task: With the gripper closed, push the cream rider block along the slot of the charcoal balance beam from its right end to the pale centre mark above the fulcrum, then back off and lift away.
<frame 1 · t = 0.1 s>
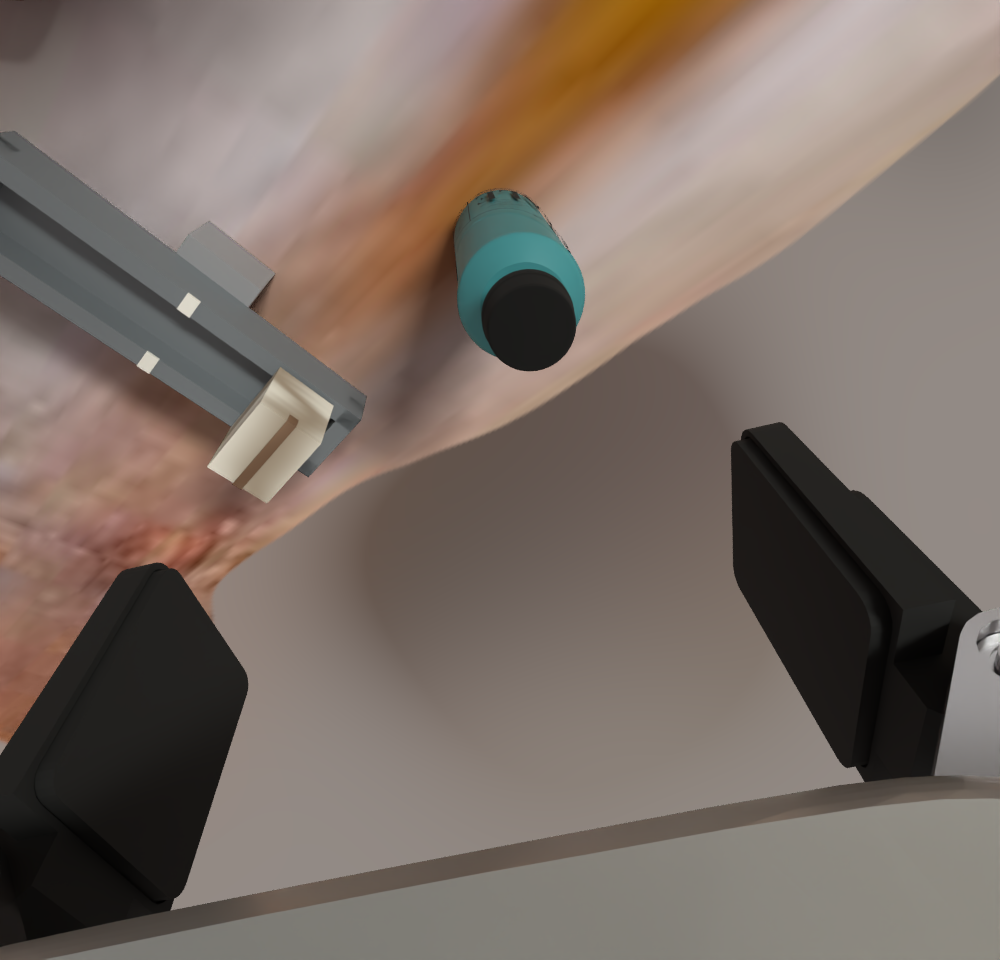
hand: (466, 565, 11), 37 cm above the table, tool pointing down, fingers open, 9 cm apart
beam: (207, 296, 44), on the table
beverage bottle: (498, 232, 43), on the table
rider: (277, 427, 40), point 9 cm above the table, slide at 8.0 cm
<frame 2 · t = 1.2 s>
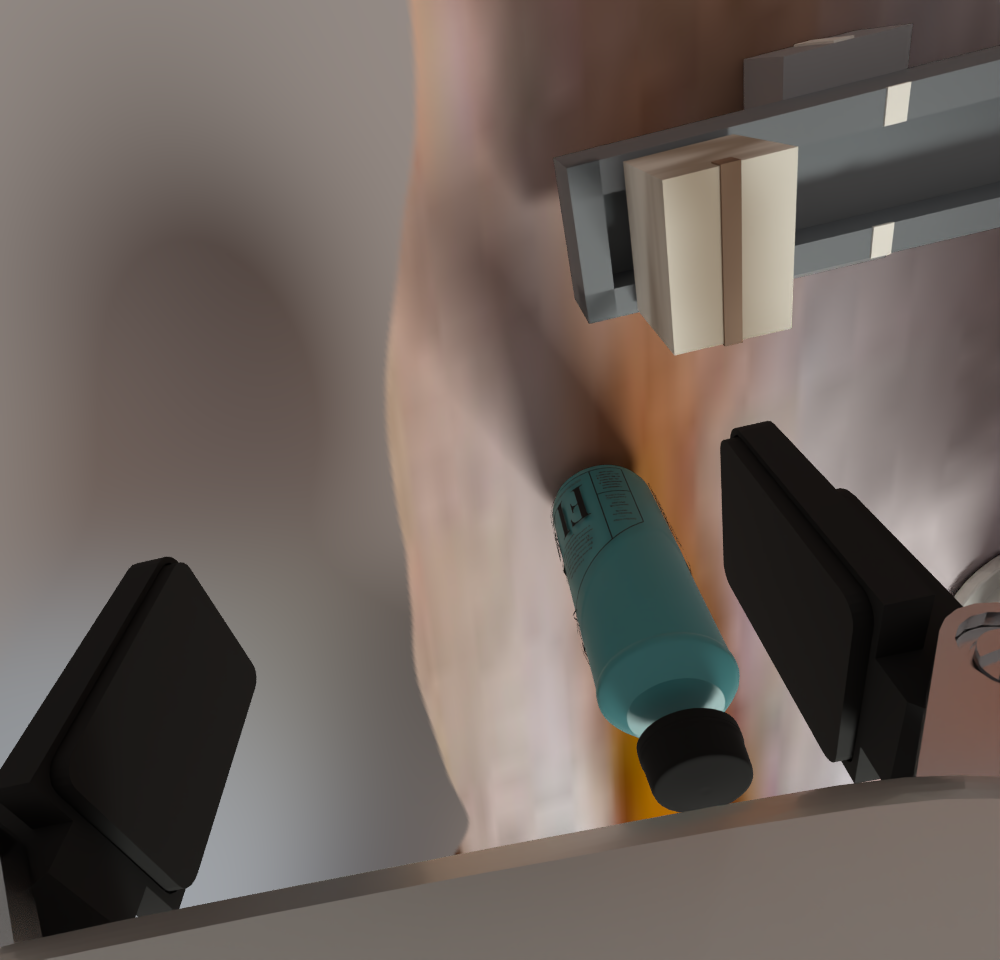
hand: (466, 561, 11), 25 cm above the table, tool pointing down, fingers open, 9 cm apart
beam: (795, 155, 30), on the table
beverage bottle: (596, 491, 40), on the table
rider: (695, 236, 23), point 9 cm above the table, slide at 8.0 cm
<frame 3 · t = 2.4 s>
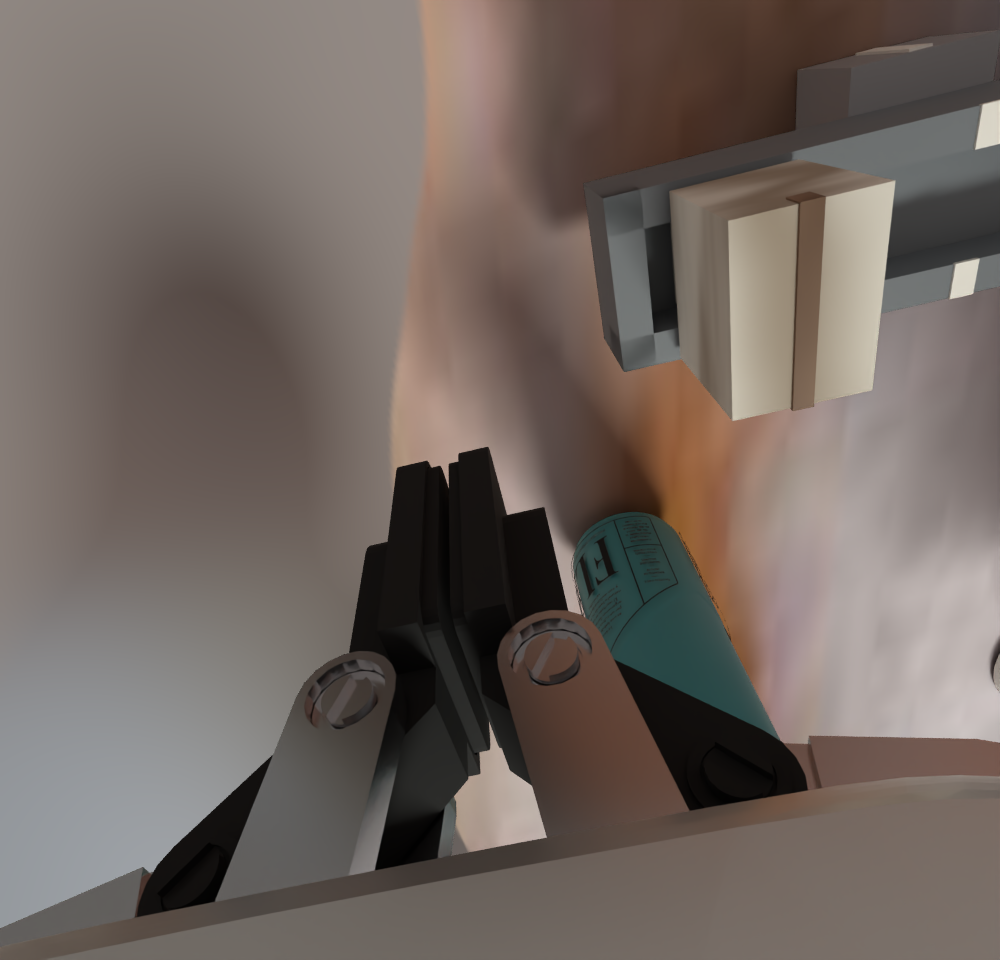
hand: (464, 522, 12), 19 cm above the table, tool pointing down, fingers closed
beam: (852, 177, 27), on the table
beverage bottle: (620, 536, 37), on the table
rider: (753, 278, 20), point 9 cm above the table, slide at 8.0 cm
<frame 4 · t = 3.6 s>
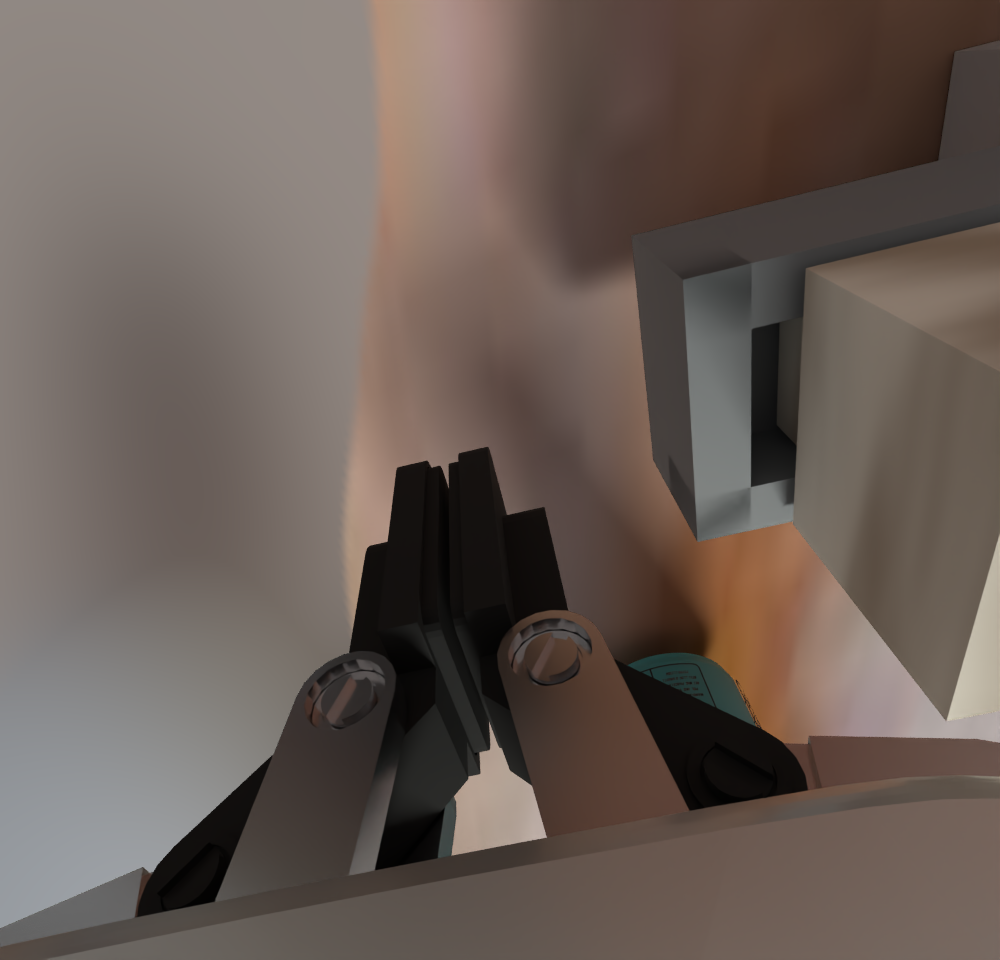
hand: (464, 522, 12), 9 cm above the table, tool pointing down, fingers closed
beverage bottle: (652, 669, 28), on the table
rider: (957, 426, 11), point 9 cm above the table, slide at 8.0 cm
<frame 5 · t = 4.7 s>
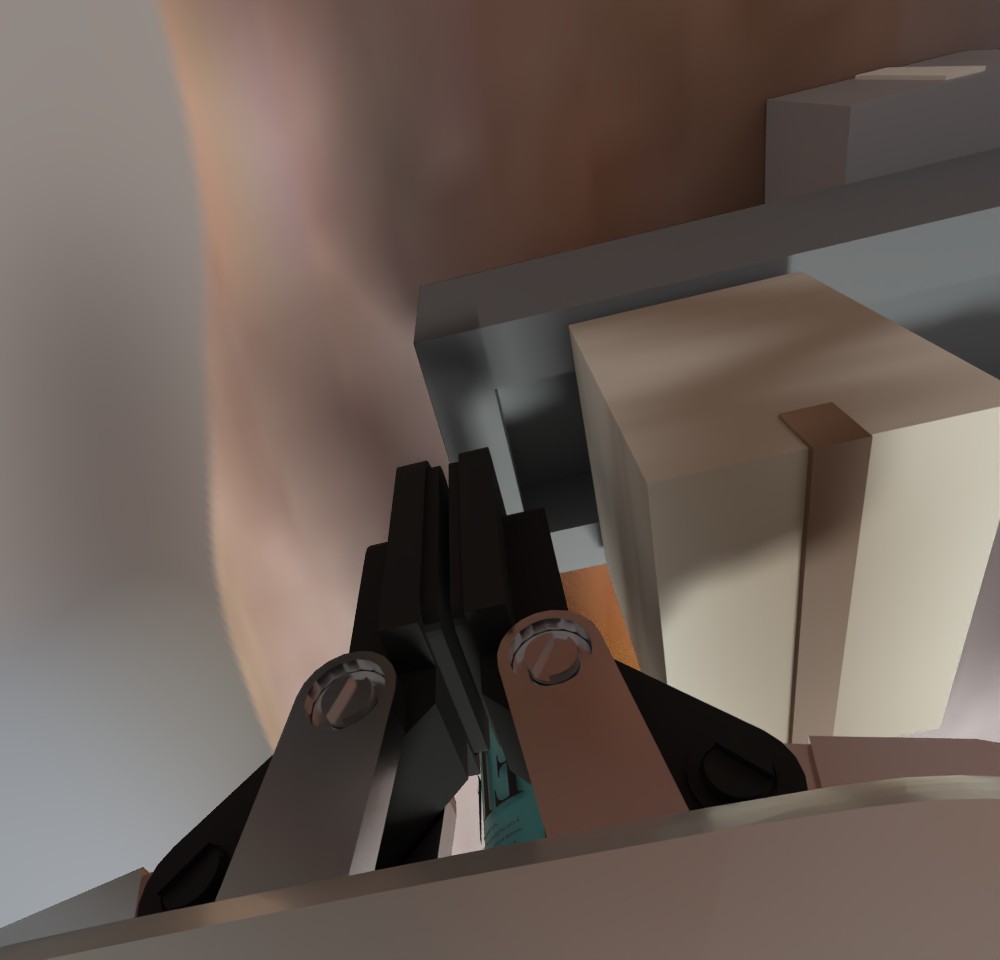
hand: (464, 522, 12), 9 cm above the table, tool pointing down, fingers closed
beam: (848, 253, 18), on the table
beverage bottle: (545, 692, 28), on the table
rider: (720, 481, 11), point 9 cm above the table, slide at 7.3 cm, touching gripper
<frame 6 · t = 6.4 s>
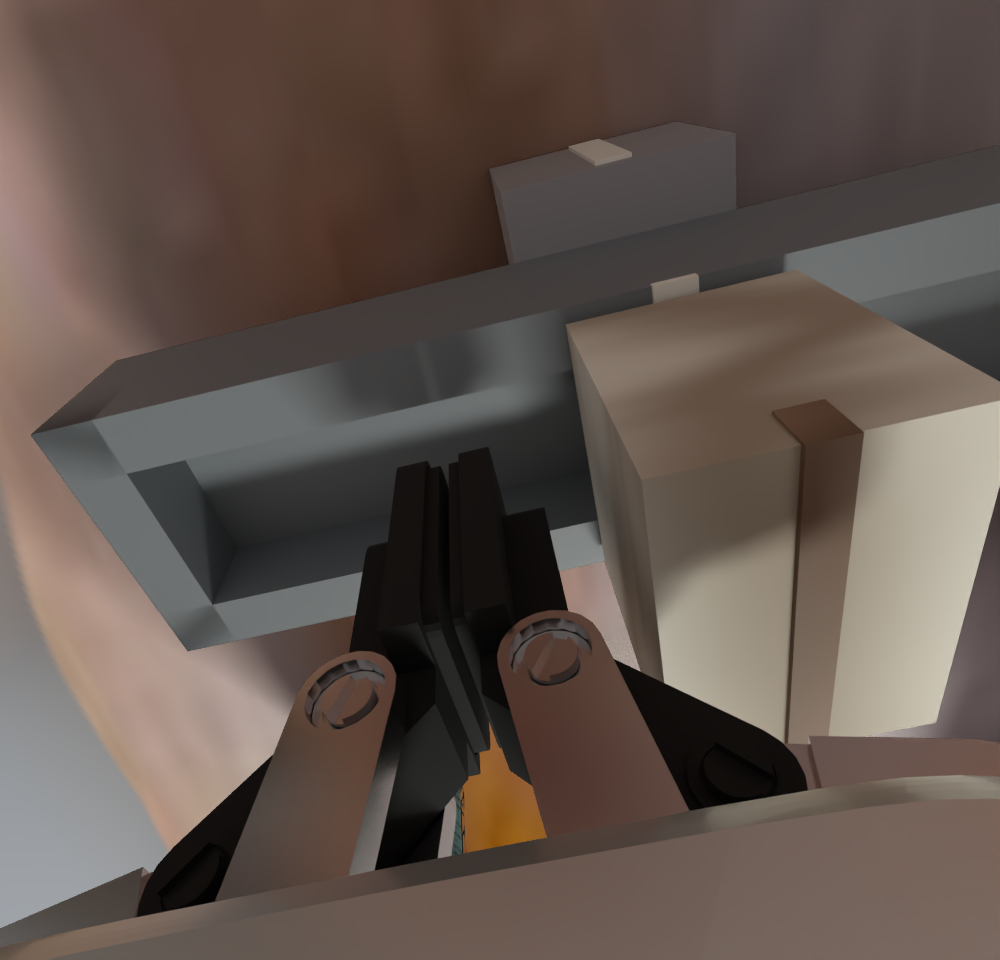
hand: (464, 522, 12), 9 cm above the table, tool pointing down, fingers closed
beam: (603, 309, 19), on the table
beverage bottle: (392, 722, 29), on the table
rider: (717, 478, 11), point 9 cm above the table, slide at 0.0 cm, touching gripper
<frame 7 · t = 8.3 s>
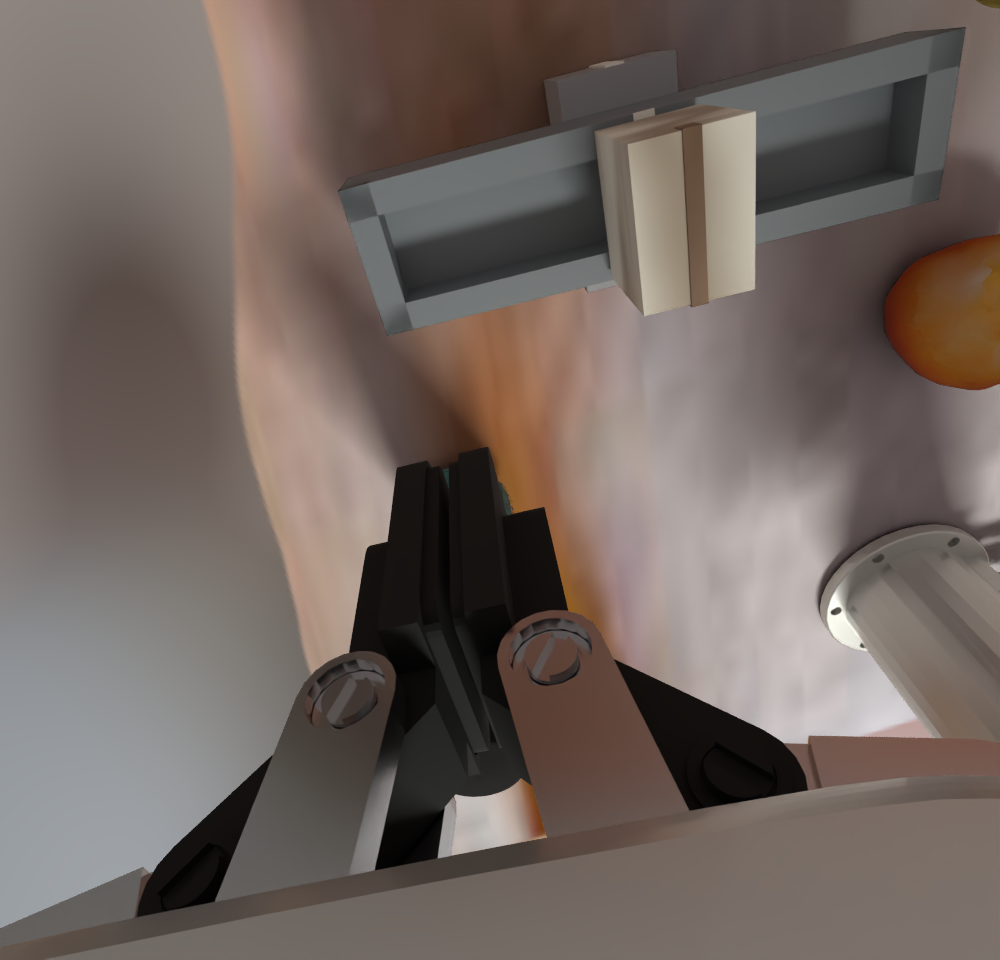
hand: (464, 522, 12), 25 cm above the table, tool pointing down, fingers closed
beam: (607, 170, 32), on the table
beverage bottle: (461, 490, 42), on the table
rider: (664, 203, 24), point 9 cm above the table, slide at 0.0 cm
fruit: (930, 294, 37), on the table
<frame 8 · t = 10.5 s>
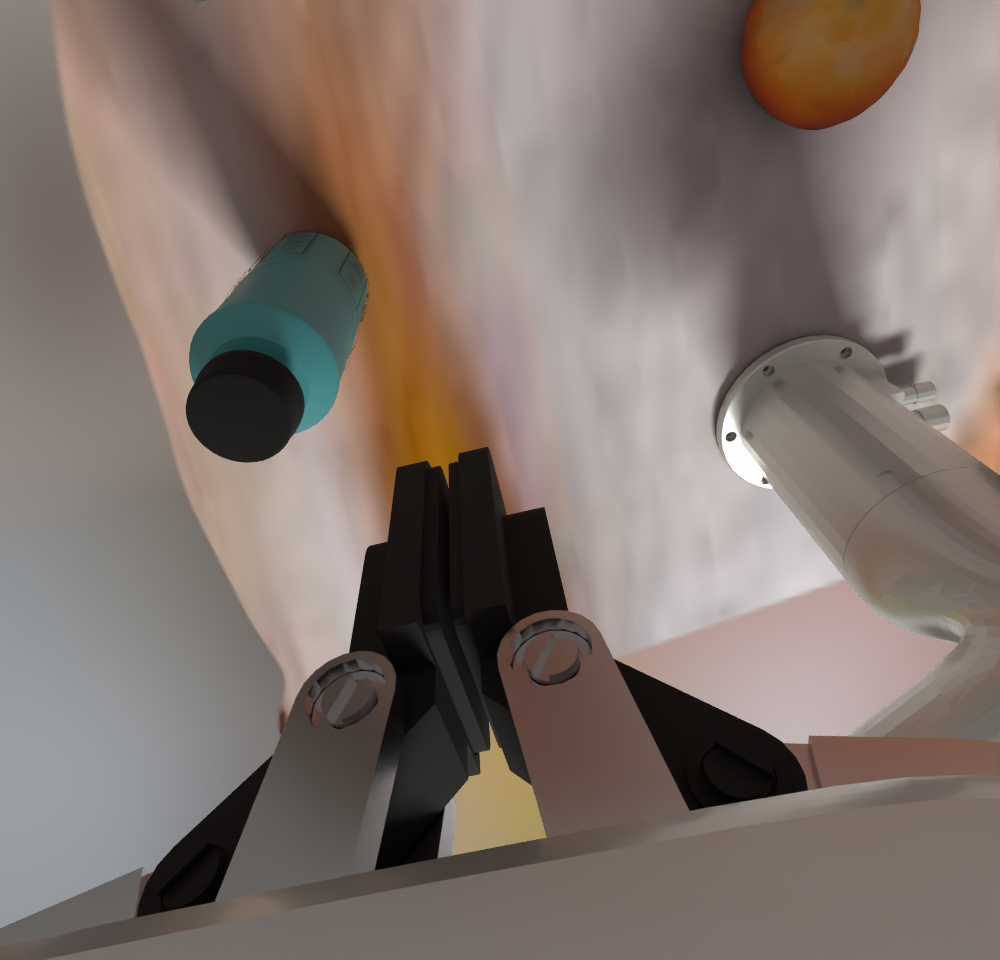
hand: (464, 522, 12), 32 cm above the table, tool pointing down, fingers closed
beverage bottle: (322, 276, 40), on the table
fruit: (793, 44, 35), on the table
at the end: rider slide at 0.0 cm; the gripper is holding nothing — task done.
